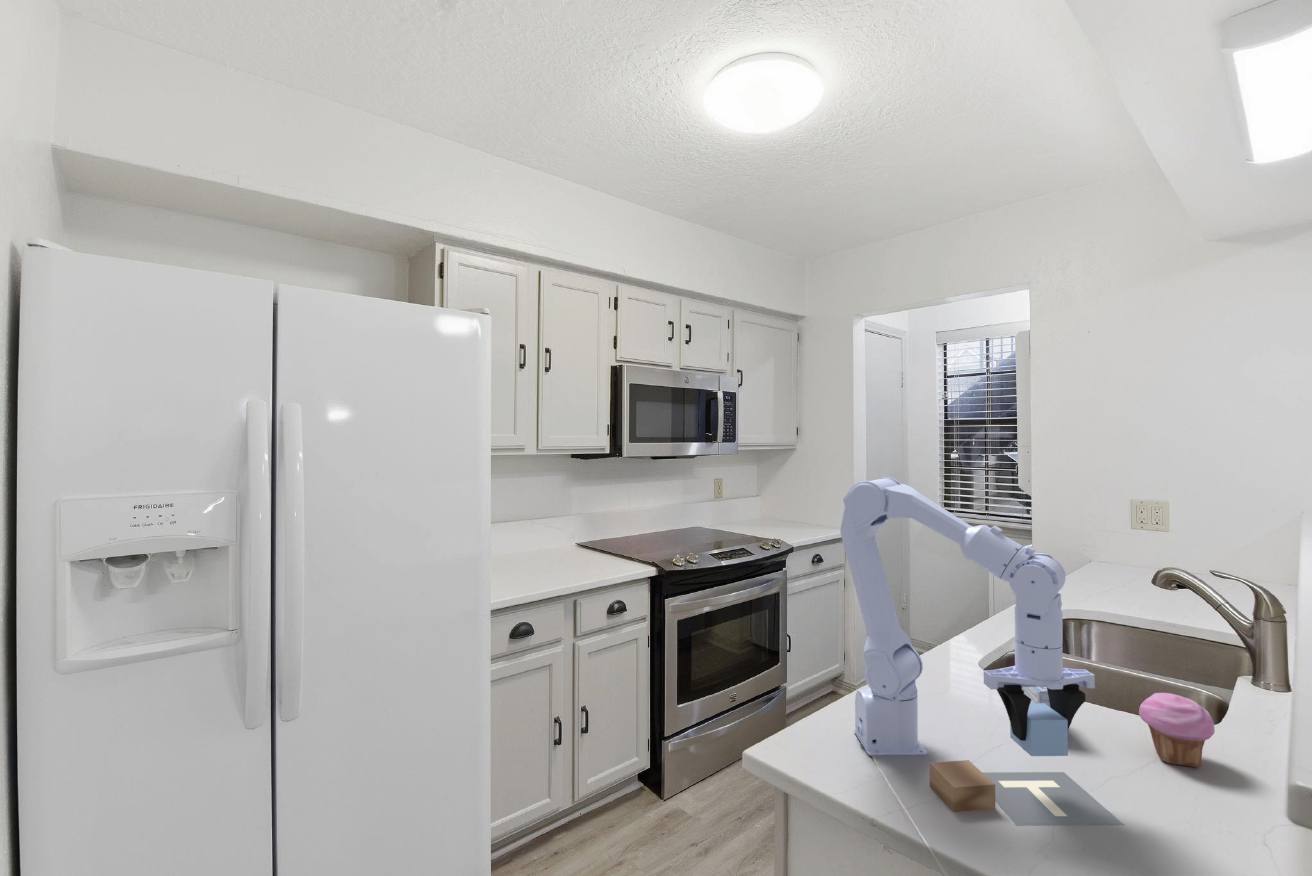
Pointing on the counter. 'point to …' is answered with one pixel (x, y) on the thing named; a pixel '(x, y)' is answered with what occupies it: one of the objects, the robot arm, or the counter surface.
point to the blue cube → (1044, 732)
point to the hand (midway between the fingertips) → (1038, 736)
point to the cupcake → (1177, 727)
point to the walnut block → (962, 786)
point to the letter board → (1047, 800)
